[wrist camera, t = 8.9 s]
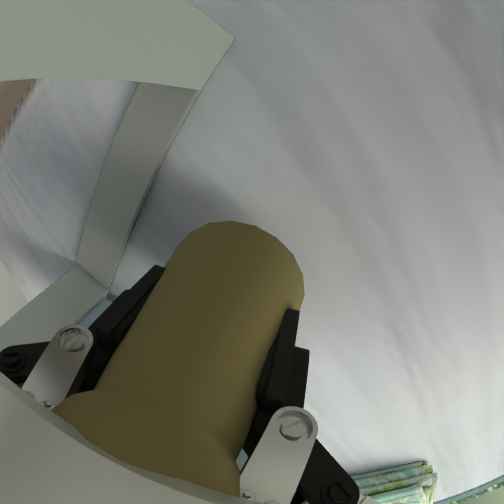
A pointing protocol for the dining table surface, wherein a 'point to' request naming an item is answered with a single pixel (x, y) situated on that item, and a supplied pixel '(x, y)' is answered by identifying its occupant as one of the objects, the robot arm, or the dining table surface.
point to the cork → (194, 358)
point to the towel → (399, 484)
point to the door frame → (130, 130)
